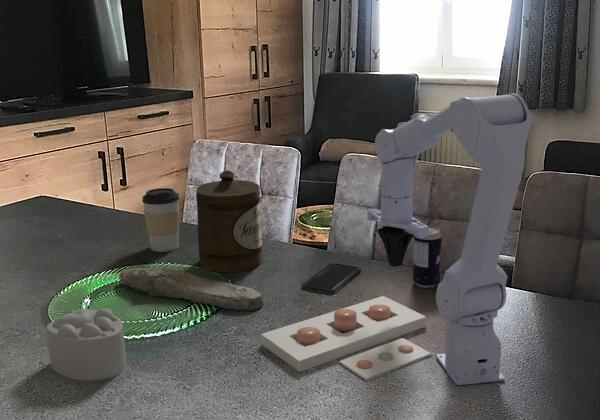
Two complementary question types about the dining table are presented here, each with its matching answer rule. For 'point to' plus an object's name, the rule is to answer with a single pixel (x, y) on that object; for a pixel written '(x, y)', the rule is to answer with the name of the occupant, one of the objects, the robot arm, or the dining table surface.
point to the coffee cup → (162, 218)
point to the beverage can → (427, 259)
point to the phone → (331, 278)
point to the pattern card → (384, 359)
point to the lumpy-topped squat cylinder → (87, 344)
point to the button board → (336, 342)
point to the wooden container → (229, 224)
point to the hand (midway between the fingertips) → (395, 265)
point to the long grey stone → (191, 288)
